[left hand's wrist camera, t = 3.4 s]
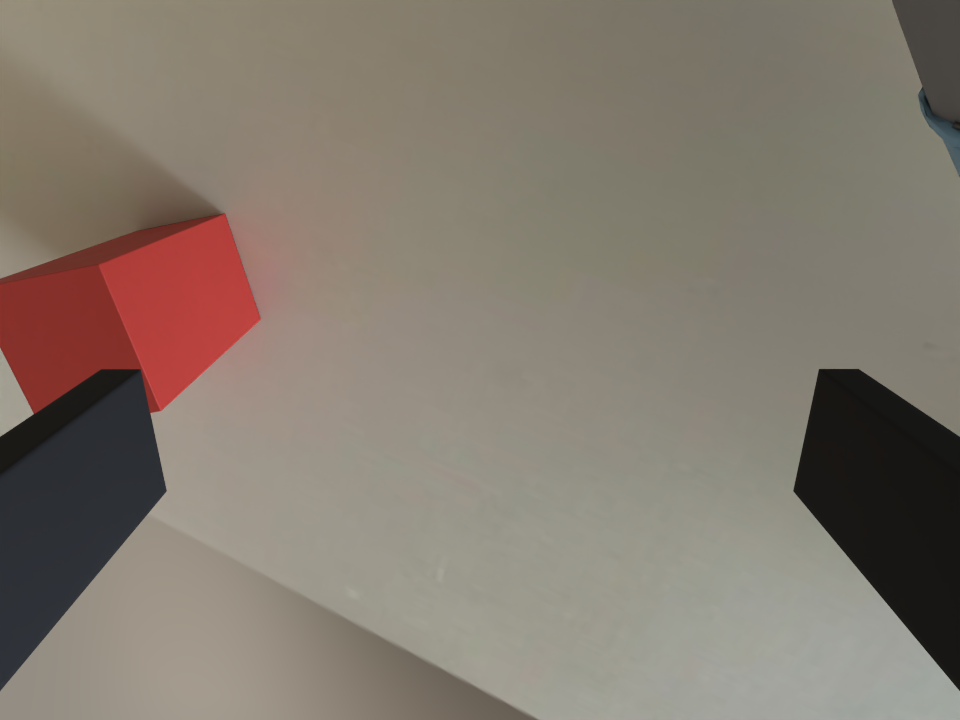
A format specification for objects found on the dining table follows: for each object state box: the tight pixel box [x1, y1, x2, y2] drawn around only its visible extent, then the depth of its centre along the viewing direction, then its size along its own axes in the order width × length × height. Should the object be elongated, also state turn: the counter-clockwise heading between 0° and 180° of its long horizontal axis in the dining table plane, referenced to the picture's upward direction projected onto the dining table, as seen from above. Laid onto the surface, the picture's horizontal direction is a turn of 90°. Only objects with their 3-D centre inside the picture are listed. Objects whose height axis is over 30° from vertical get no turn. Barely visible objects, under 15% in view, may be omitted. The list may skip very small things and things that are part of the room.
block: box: [0, 214, 260, 414], centre depth 28 cm, size 6×5×11 cm
